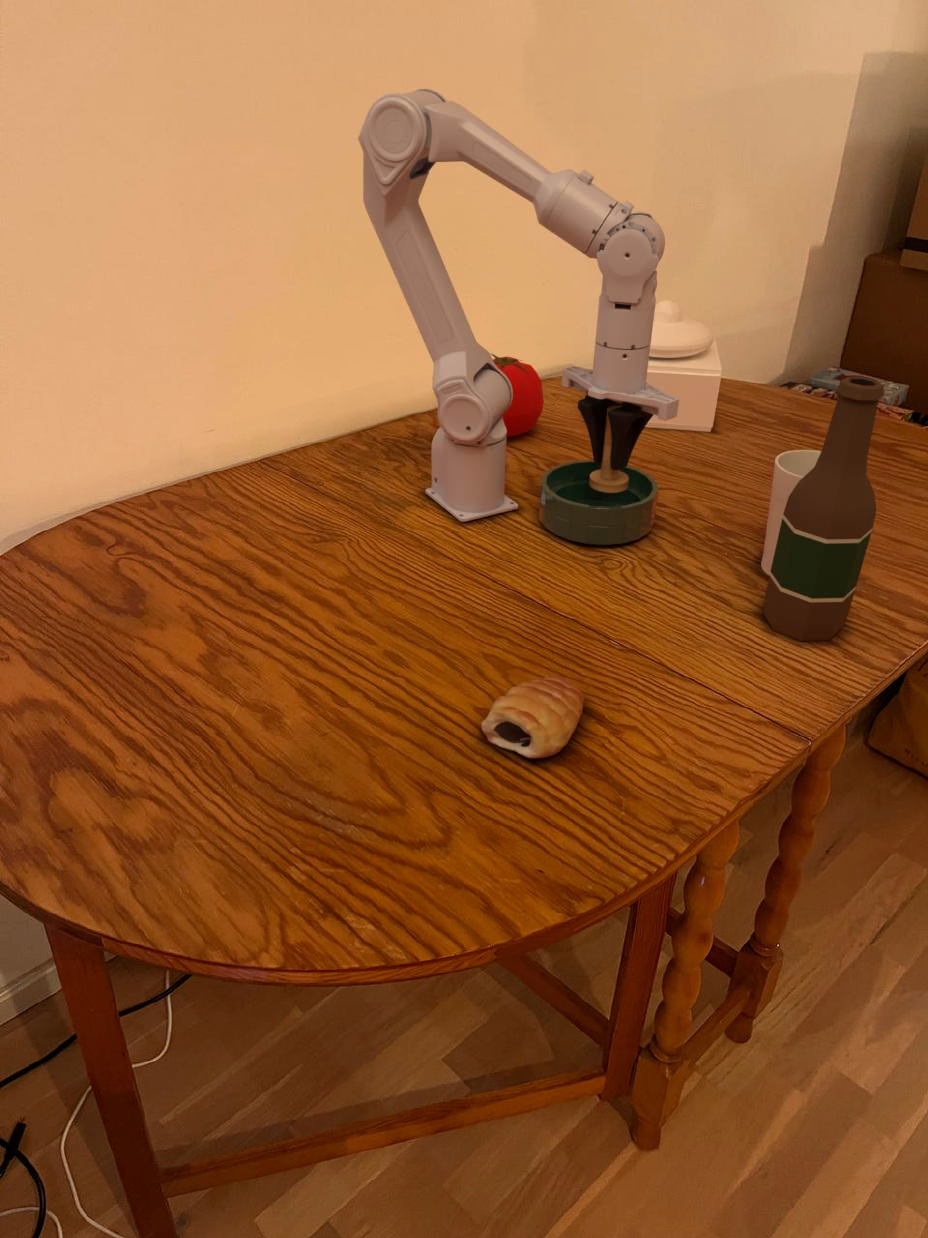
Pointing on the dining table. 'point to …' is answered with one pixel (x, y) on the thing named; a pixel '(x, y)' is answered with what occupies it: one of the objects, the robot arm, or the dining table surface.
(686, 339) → the butter dish
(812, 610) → the beer bottle
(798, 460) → the cup
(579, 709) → the pastry
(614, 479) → the peg on round base
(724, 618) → the dining table surface
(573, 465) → the bowl
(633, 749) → the dining table surface
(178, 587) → the dining table surface
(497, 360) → the tomato
